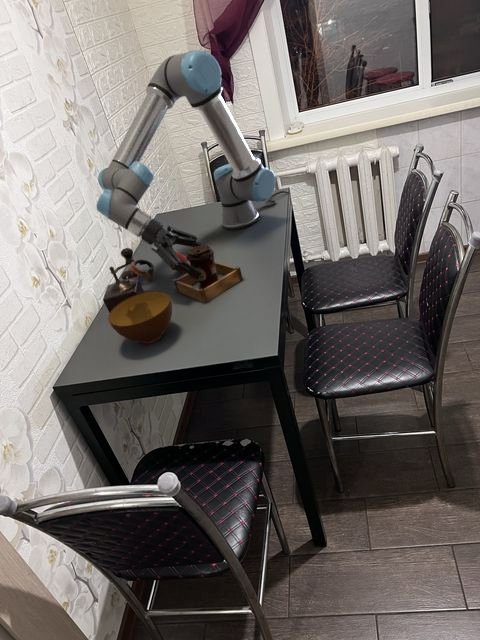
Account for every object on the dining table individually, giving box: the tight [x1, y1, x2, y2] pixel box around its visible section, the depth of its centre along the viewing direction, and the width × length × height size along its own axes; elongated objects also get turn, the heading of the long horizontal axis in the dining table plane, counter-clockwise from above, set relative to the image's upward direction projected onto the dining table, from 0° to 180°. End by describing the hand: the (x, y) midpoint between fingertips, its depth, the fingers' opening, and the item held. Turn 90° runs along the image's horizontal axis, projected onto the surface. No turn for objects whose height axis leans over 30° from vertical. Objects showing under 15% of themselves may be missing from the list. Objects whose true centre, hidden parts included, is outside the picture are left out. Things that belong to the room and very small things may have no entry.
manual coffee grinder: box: [102, 247, 146, 314], centre depth 147 cm, size 16×11×18 cm
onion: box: [172, 250, 188, 273], centre depth 165 cm, size 6×6×8 cm
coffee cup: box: [186, 244, 219, 289], centre depth 150 cm, size 9×8×13 cm
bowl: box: [107, 290, 173, 344], centre depth 132 cm, size 18×18×10 cm
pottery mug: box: [120, 259, 155, 283], centre depth 167 cm, size 12×10×8 cm
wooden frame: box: [172, 260, 244, 304], centre depth 152 cm, size 16×16×4 cm
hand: (205, 265), depth 149 cm, fingers open, 13 cm apart
